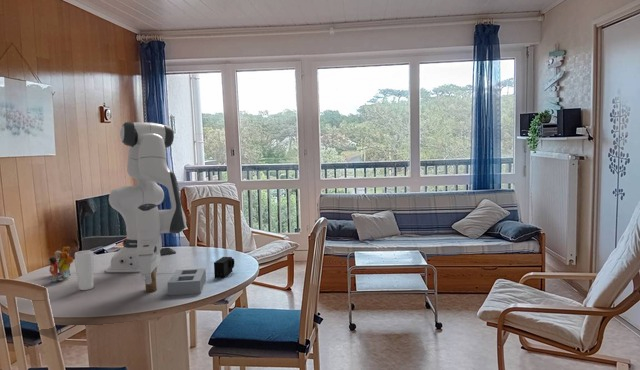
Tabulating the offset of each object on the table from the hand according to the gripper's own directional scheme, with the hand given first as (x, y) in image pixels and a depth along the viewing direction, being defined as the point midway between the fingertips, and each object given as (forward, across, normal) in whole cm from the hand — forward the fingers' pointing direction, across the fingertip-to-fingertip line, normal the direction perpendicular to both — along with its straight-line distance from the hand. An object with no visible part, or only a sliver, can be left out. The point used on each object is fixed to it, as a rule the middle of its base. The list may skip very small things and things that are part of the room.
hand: (151, 280), depth 176 cm
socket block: (+4, -1, +14) cm, 14 cm away
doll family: (+4, -28, -43) cm, 51 cm away
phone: (+4, -68, -8) cm, 69 cm away
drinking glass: (+4, -8, -27) cm, 29 cm away
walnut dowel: (+4, 0, 0) cm, 4 cm away
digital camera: (+4, -16, +27) cm, 32 cm away
